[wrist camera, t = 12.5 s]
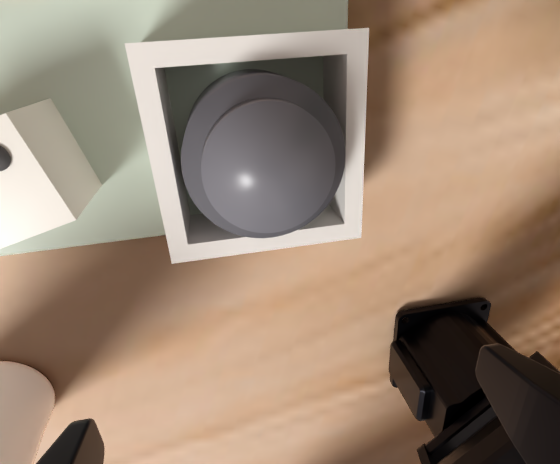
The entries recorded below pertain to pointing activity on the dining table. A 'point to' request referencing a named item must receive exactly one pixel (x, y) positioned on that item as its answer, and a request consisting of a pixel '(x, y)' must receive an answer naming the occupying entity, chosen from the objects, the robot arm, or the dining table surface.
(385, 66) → the dining table surface
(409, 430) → the dining table surface
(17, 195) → the die
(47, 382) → the white tapered vase
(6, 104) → the board
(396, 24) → the dining table surface
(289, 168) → the popper button
